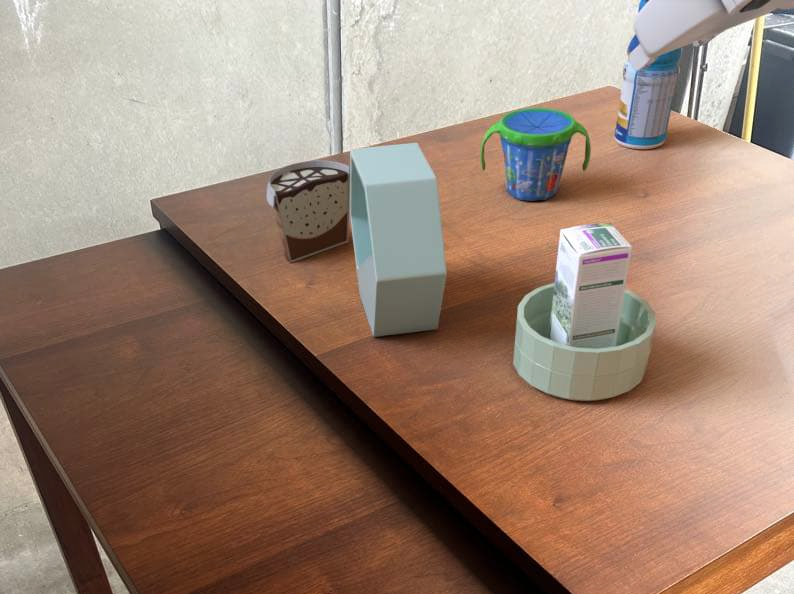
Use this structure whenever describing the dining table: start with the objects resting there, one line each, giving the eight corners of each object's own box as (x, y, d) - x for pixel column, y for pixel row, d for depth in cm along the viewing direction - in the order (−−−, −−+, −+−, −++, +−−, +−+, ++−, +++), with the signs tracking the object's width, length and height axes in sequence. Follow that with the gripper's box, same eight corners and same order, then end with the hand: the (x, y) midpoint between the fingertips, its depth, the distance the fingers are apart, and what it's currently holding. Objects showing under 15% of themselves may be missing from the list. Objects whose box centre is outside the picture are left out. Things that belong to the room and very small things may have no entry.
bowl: (640, 334, 100) (650, 283, 96) (649, 408, 90) (661, 355, 86) (515, 328, 102) (519, 277, 97) (510, 400, 92) (515, 347, 87)
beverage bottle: (645, 155, 136) (671, 11, 122) (602, 141, 141) (622, 0, 127) (676, 140, 140) (705, -1, 126) (633, 127, 145) (656, -11, 131)
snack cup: (474, 204, 126) (477, 131, 118) (483, 174, 133) (487, 104, 126) (583, 211, 123) (593, 137, 116) (586, 181, 130) (596, 109, 123)
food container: (332, 223, 122) (327, 151, 115) (357, 239, 119) (353, 165, 112) (257, 249, 117) (246, 175, 110) (280, 266, 114) (271, 191, 107)
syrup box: (613, 371, 94) (637, 245, 84) (562, 379, 93) (579, 252, 83) (593, 343, 98) (613, 219, 88) (544, 350, 97) (558, 226, 87)
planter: (365, 339, 109) (342, 166, 105) (425, 332, 110) (405, 160, 106) (382, 334, 93) (357, 128, 88) (453, 325, 94) (431, 121, 89)
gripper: (835, -109, 76) (714, -2, 89) (697, -68, 67) (584, 45, 80) (865, -42, 77) (741, 55, 89) (733, 7, 68) (615, 108, 80)
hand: (666, 51), depth 84 cm, fingers open, 8 cm apart
